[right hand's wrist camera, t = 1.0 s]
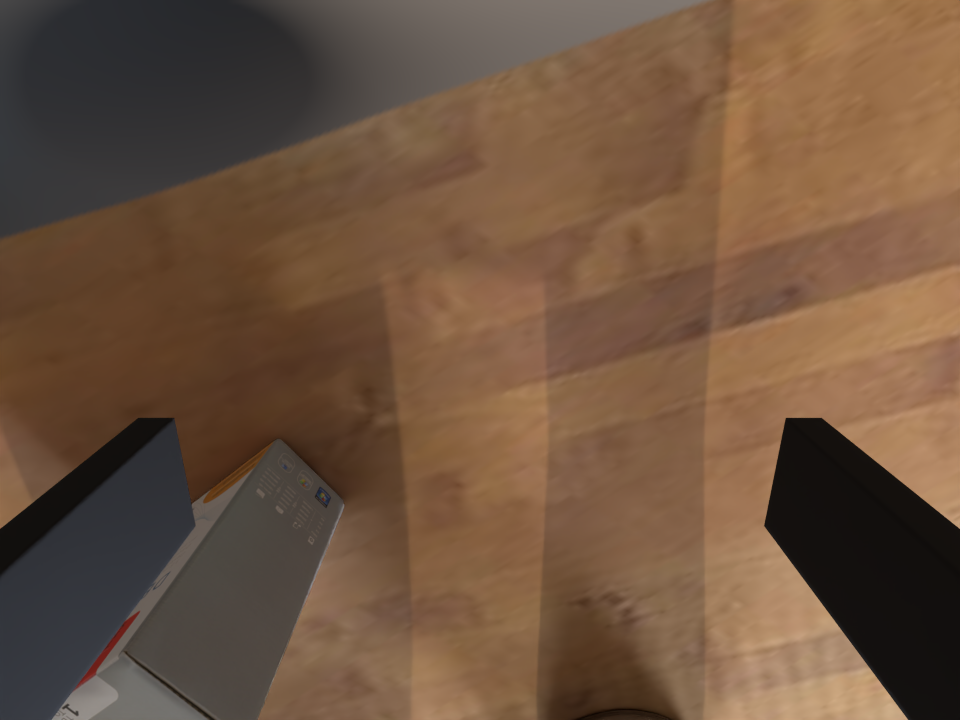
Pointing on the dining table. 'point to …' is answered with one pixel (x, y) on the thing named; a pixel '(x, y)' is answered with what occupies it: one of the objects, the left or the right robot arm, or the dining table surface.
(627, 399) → the dining table surface
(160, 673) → the hard drive box
